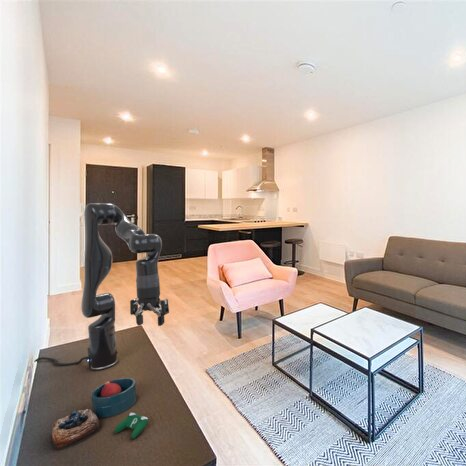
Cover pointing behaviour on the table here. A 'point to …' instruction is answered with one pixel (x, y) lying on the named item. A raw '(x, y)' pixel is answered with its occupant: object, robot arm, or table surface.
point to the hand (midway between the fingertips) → (150, 324)
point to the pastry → (74, 428)
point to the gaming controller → (133, 424)
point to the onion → (110, 389)
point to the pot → (114, 398)
